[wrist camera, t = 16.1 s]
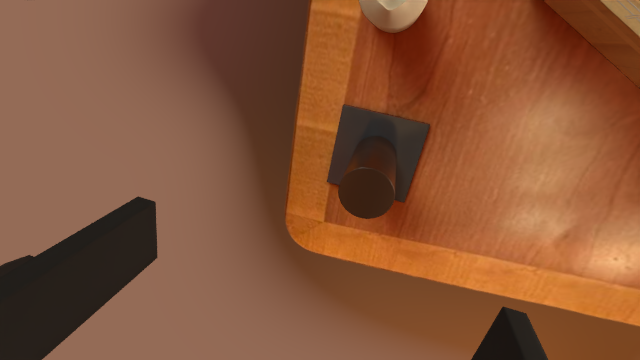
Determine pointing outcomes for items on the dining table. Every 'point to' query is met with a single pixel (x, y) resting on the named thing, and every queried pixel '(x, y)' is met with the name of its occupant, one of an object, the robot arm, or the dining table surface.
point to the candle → (392, 13)
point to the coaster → (370, 123)
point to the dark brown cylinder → (369, 178)
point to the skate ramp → (607, 29)
